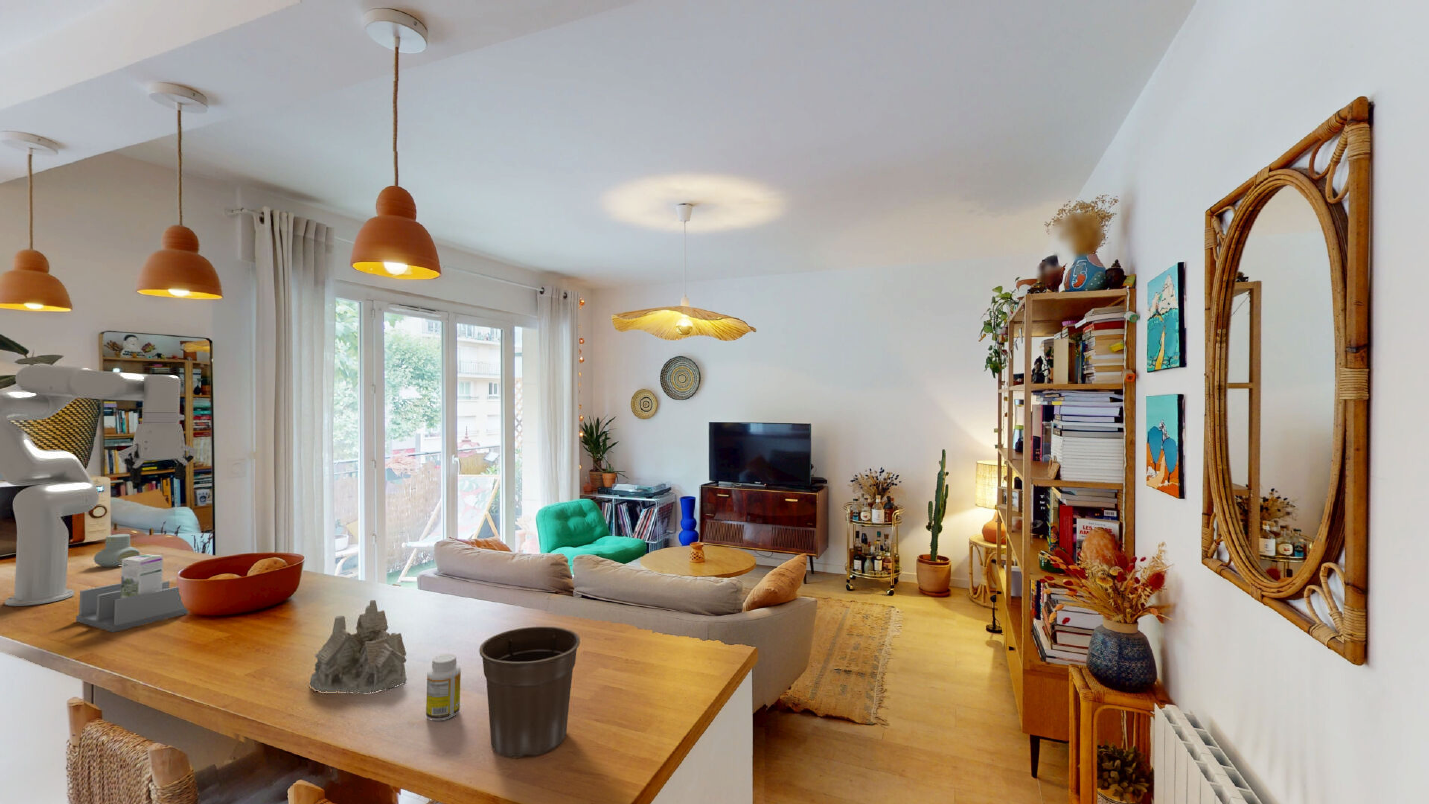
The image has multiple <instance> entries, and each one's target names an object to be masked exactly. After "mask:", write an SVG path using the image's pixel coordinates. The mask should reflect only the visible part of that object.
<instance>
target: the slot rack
mask: <svg viewBox="0 0 1429 804" xmlns="http://www.w3.org/2000/svg"><path fill="white" fill-rule="evenodd" d="M178 586H179V585H177V586H174V587H170V581H168V580H166V581H162V590H158V591H153V592H149V593H144V594H139V595H134V596H130V597H125V598H121V582H119V583H114V584H109V585H108V584H107V585H103V586H97V587H93V588H87V589H82V590H80V591H79V608H78V614H77V615H76V616H75V622H76V621H77V622H76V623H79V622H80V624H83V623H84V625H86V624H87V625H86V626H91V627H93V626H95V627H94V628H96V627H98V628H97V629H100V630H103V629H105V630H104V631H107V630H108V631H107V632H110V633H116V632H120V631H124V630H123V629H125V630H129V629H133V628H135V627H134V626H137V627H140V625H141V626H144V625H143V624H145V625H147V624H146V623H149V624H151V623H152V622H153V623H155V621H157V622H159V621H158V620H161V621H165V620H167V619H166V618H169V619H172V617H173V618H175V616H177V617H180V616H179V615H181V616H184V614H185V615H188V614H189V610H188V611H187V609H186V608H185V607H184V605H183V603H182V601H181V596H180V594H179V588H178ZM164 619H165V620H164ZM153 623H152V624H153ZM132 627H133V628H132Z"/></svg>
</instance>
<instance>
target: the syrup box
mask: <svg viewBox="0 0 1429 804" xmlns="http://www.w3.org/2000/svg"><path fill="white" fill-rule="evenodd" d="M163 568H164V556H163V555H159V554H158V555H157V554H147V553H145V554H140V555H137V556H132V557H128V558H125V559H122V566H121V572H120V573H121V575H120V576H121V577H120V579H121V580H120V583H121V598H125V597H130V596H134V595H139V594H144V593H149V592H153V591H158V590H162V582H163V572H164V571H163Z"/></svg>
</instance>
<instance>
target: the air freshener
mask: <svg viewBox="0 0 1429 804" xmlns="http://www.w3.org/2000/svg"><path fill="white" fill-rule="evenodd" d="M137 555H141V552H140V550H139V549H138V548H136V547H133V546H131V535H130V534H129V533H118V534H110V535H107V536H106V537H105V548H103V549H101V550H100V551H98V552H97V553H95V555H94V556H93V557H94V558H93V561H94V563H95V564H97V565H98V566H101V567H104V568H112V567H111V566H119V565H122V559H125V558H128V557H132V556H137Z"/></svg>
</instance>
